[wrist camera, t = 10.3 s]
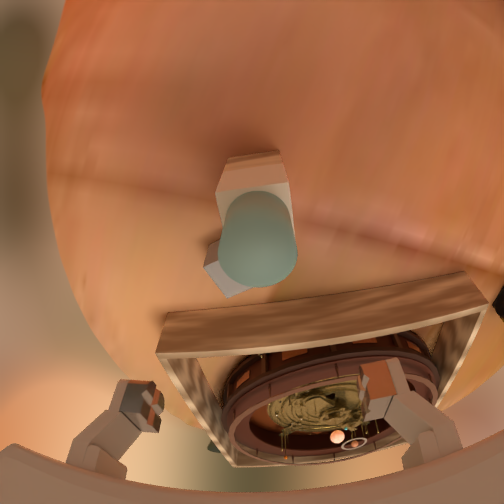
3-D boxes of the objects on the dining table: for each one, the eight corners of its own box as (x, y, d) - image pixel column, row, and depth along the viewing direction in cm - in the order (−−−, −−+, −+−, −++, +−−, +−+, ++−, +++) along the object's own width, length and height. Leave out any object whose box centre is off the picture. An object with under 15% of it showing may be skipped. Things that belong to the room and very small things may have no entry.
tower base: (228, 157, 32) (222, 171, 27) (279, 150, 31) (283, 163, 26) (237, 203, 34) (233, 225, 30) (285, 197, 34) (289, 217, 29)
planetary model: (370, 259, 38) (401, 321, 28) (446, 378, 55) (462, 418, 45) (170, 380, 54) (159, 432, 44) (302, 445, 71) (305, 482, 61)
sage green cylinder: (219, 195, 22) (209, 225, 18) (286, 186, 22) (293, 214, 18) (232, 252, 25) (226, 291, 21) (293, 245, 24) (300, 282, 20)
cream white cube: (222, 171, 27) (214, 192, 22) (283, 163, 26) (288, 182, 22) (233, 225, 30) (229, 255, 25) (289, 217, 29) (296, 246, 24)
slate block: (209, 244, 37) (203, 267, 33) (244, 226, 36) (242, 248, 32) (230, 273, 40) (227, 298, 35) (264, 258, 38) (265, 282, 34)
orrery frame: (168, 312, 43) (155, 353, 37) (464, 271, 39) (489, 303, 32) (234, 441, 68) (233, 467, 61) (406, 416, 63) (413, 441, 57)
